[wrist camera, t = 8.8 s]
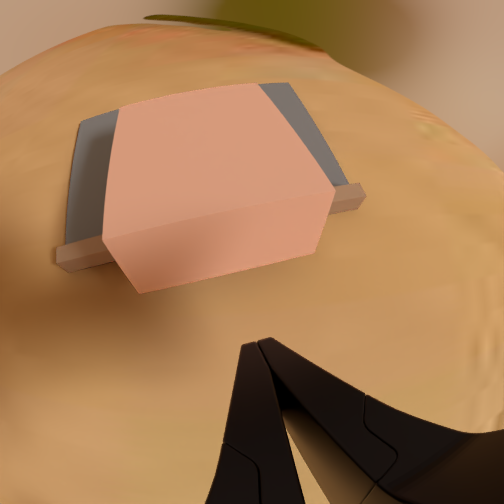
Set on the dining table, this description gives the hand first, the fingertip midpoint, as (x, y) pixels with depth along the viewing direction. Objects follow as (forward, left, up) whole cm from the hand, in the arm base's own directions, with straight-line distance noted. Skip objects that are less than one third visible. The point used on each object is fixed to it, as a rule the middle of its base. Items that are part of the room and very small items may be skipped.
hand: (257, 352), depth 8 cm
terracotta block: (+1, +5, -4) cm, 6 cm away
